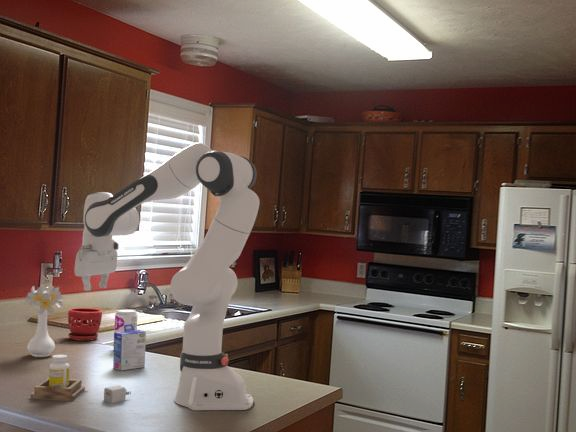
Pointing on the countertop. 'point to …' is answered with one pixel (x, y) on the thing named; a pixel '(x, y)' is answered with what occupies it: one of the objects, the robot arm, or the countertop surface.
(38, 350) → the flower vase
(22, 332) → the countertop surface
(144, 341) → the ink cartridge box
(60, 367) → the supplement bottle
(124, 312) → the supplement can
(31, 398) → the mat
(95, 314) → the plant pot
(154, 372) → the countertop surface
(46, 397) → the wooden tray
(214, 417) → the countertop surface
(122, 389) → the usb wall charger
